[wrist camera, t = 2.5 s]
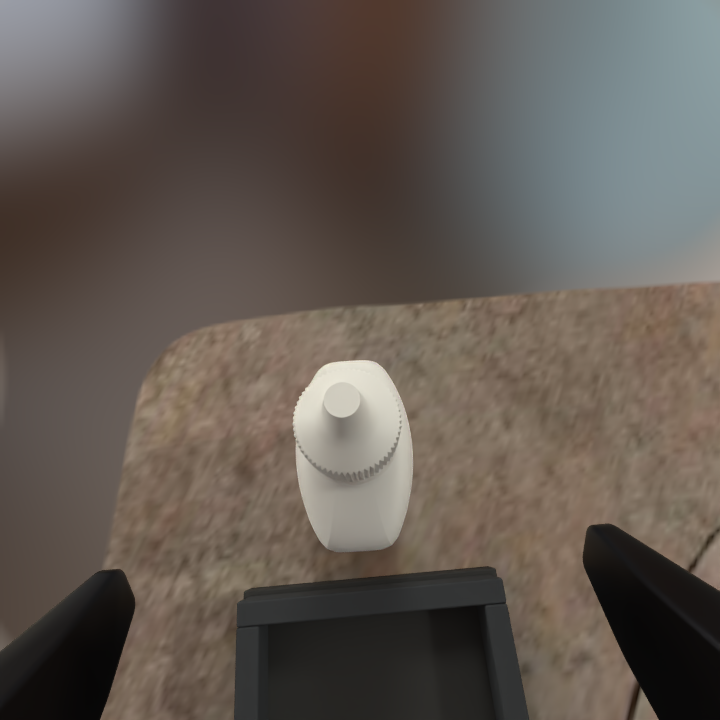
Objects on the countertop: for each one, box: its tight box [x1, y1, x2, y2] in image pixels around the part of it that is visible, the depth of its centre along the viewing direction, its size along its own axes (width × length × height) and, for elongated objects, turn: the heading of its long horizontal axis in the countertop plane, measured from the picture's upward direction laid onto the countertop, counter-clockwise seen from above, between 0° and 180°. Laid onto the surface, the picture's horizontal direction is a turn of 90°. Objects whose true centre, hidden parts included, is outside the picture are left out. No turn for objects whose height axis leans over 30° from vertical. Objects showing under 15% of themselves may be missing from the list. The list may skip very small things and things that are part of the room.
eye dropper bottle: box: [292, 360, 413, 552], centre depth 13 cm, size 4×6×12 cm
